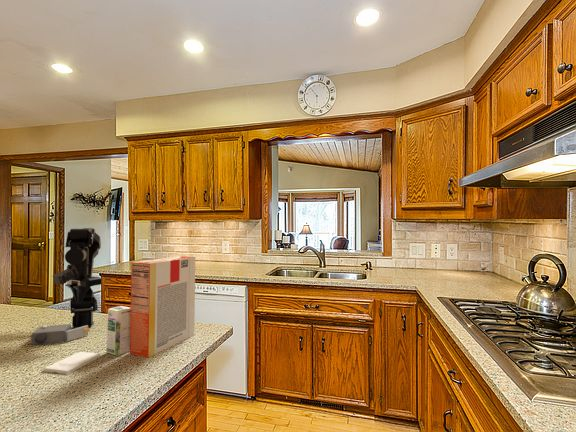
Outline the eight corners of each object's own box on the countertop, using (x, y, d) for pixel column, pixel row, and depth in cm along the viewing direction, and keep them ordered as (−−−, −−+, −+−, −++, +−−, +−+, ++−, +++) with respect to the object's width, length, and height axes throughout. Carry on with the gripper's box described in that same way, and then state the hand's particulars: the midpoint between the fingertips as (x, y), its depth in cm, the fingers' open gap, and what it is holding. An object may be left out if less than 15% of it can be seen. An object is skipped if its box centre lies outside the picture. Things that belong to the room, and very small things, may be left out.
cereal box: (177, 332, 130) (178, 256, 130) (194, 334, 126) (195, 257, 127) (129, 353, 108) (131, 262, 109) (148, 357, 105) (150, 263, 106)
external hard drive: (100, 358, 105) (66, 376, 93) (78, 356, 107) (42, 373, 95) (100, 353, 105) (67, 370, 93) (78, 351, 107) (43, 367, 95)
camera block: (70, 334, 126) (71, 322, 126) (63, 342, 117) (63, 330, 117) (39, 337, 122) (39, 325, 122) (29, 346, 114) (29, 332, 114)
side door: (89, 335, 124) (89, 325, 125) (65, 342, 117) (65, 332, 117) (86, 334, 125) (86, 325, 125) (63, 341, 117) (63, 331, 117)
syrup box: (105, 353, 108) (106, 308, 109) (122, 347, 114) (122, 305, 114) (116, 356, 106) (117, 311, 106) (132, 350, 111) (133, 307, 111)
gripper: (41, 262, 122) (40, 304, 121) (73, 265, 114) (72, 310, 113) (72, 259, 132) (71, 298, 131) (103, 262, 124) (102, 303, 123)
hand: (78, 302), depth 124 cm, fingers closed
